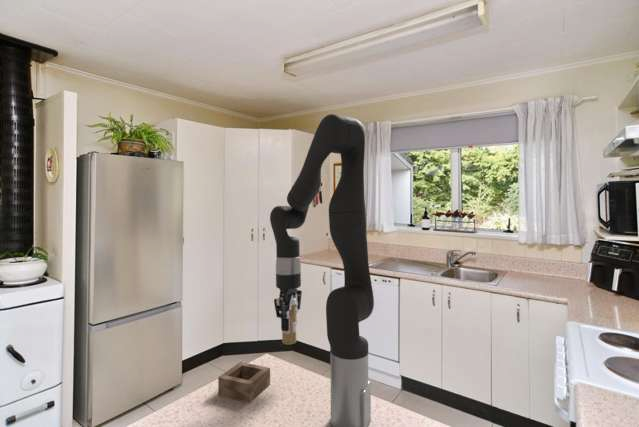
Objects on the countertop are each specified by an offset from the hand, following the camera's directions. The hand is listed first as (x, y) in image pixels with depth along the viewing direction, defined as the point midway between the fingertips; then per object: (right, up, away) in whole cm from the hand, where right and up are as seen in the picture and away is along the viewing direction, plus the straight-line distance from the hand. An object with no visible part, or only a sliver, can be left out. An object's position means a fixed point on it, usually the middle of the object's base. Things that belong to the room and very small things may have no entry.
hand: (289, 327), depth 102 cm
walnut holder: (-12, -16, -5) cm, 21 cm away
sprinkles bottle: (0, -5, 0) cm, 5 cm away
